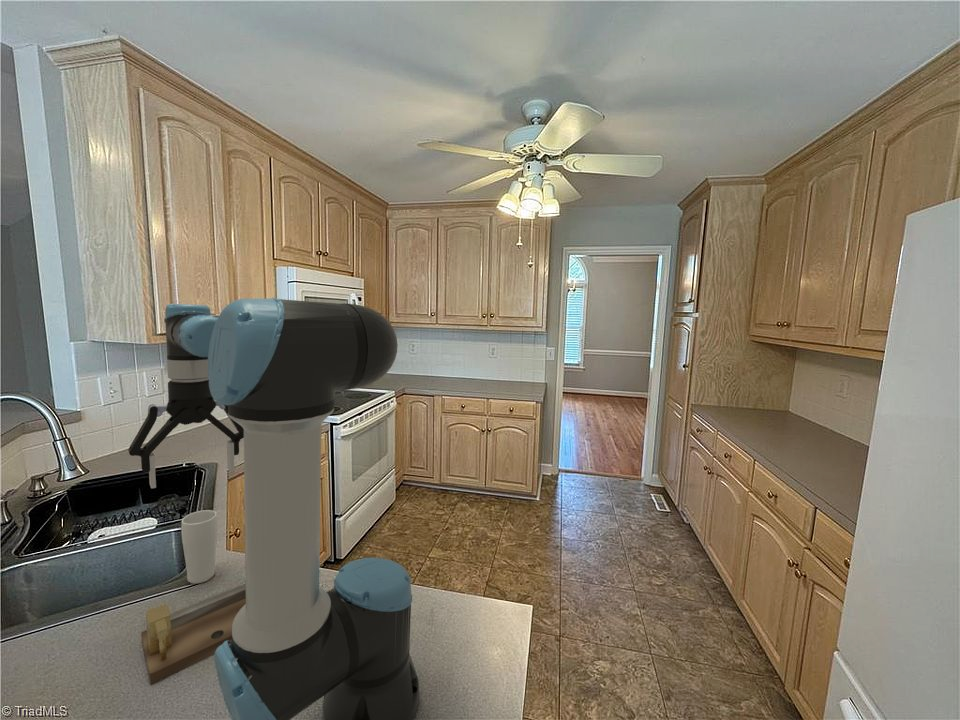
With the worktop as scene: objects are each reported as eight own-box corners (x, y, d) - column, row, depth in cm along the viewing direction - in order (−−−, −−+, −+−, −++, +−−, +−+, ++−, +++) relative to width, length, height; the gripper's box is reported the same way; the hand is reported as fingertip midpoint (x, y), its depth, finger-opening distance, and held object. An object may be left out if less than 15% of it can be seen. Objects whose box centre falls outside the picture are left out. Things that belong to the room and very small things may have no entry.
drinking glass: (177, 589, 88) (175, 525, 86) (191, 570, 95) (188, 511, 93) (212, 585, 90) (210, 522, 88) (223, 566, 96) (221, 508, 95)
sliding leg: (174, 656, 69) (173, 624, 68) (152, 666, 67) (151, 634, 66) (167, 632, 74) (166, 602, 73) (147, 641, 72) (145, 611, 71)
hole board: (297, 612, 83) (297, 576, 82) (150, 685, 66) (148, 640, 65) (277, 584, 91) (277, 551, 90) (141, 641, 74) (139, 602, 73)
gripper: (252, 372, 93) (253, 459, 95) (107, 381, 75) (113, 487, 78) (262, 377, 88) (263, 468, 90) (109, 387, 70) (115, 501, 72)
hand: (194, 477), depth 84 cm, fingers open, 13 cm apart
